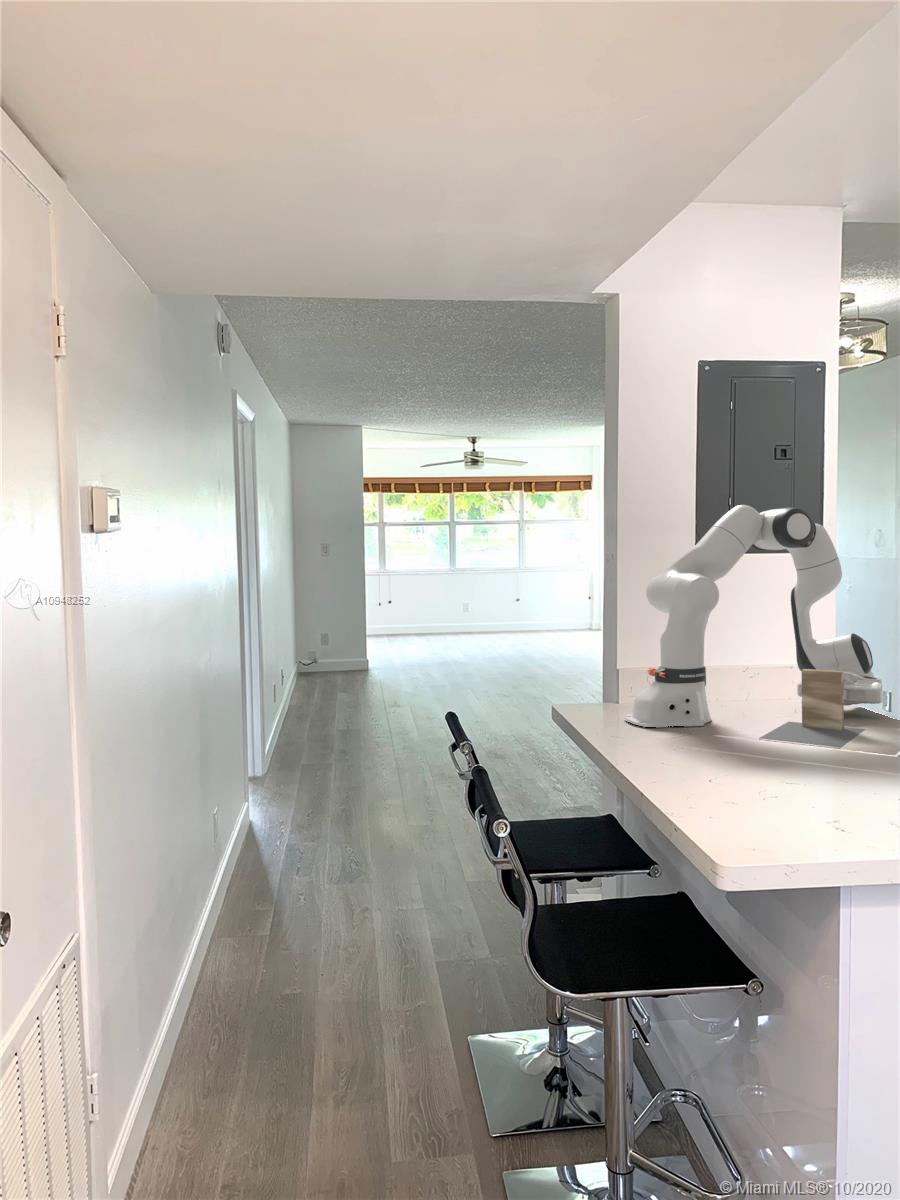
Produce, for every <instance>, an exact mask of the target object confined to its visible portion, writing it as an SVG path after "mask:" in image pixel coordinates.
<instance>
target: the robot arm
mask: <svg viewBox="0 0 900 1200" xmlns="http://www.w3.org/2000/svg"><path fill="white" fill-rule="evenodd" d="M750 548H753V549H756V550H760V551H770V550H771V551H780V550H787V552H788V553H789V555H791V557H792V561H793V565H794V568H795V570H796V571H795V572H796V578H797V579H796V584H795V586H794V587H793V588H792V589H791V592H790V609H791V616H792V624H793V632H794V638H795V654H796V657H795V658H796V663H797V667H798V670H800V671H801V673H802V670H803V669H815V670H832V671H843V686H844V706H853V705H861V704H872V705H873V704H874V705H875V704H882V703H883V684H882V683H883V681H882V679H881V678H878V677H874V673H873V671H872V668H873V667H874V666H873V665H874V660H873V654H872V651H871V647H870V646H869V644H868V642H867V641H866V640H865V639H864V638H863V637H861V636H860V635H858V634H856V633H847V634H842V635H837V636H833V637H828V638H822V639H814V637H813V631H812V624H811V617H810V616H811V615H810V610H811V607H812V606H813V605H814V604H816V603H817V602H818V601H819V600H821V599H823V598H824V597H826V596H827V595H829V594H830V593H832V592H834V590H835V589H836V588H837V587H838V586H839V584H840V583H841V581H842V577H843V571H842V570H843V569H842V565H841V562H840V559H839V556H838V553H837V550H836V547H835V546H834V542H833V541H832V539H831V536H830V534H829V533H828V532H827V530H826V528H825V527H824V526H823V525H821V524H820V523H818V522H817V523H816V522H814V521H813V519H812V518H811V516H810V514H808V513H807V512H806V511H805V510H803V509H801V508H799V507H794V506H793V507H790V506H789V507H785V508H772V509H768V510H763V511H760V512H759V511H757V510H756V509H755V508H754V507H753V506H750V505H747V504H740V505H739V504H738V505H736V506H734V507H732V508H731V509H730V510H728V511H727V512H726V513H725V514H723V515H722V516H721V517H720V518H719V519H718V520H716V522H715V523H714V524H713V525H712V526H711V527H710V529H709V530H708V531H707V532H706V533H705V534H704V535H703V536H702V537H701V539H700V540H699V541H698V542H696V544H695V545H694V546H693V547H692V548H691V549H690V550H689V551H687V553H686V554H684V555H683V556H682V557H680V558H678V560H676V561H674V563H673V564H671V565H670V566H669V567H668V568H666V570H664V571H663V572H661V573H659V574H657V576H654V577H653V578H652V579H650V581H649V582H648V583H647V587H646V591H645V593H646V598H647V601H648V602H649V604H650V605H651V606H653V607H654V608H655V609H657V610H658V611H660V612H663V613H667V614H668V620H667V622H666V623H667V624H666V628H665V629H664V632H662V634H661V636H660V641H659V642H660V665H659V667H658V668H657V669H656V668H654V667H649V668H648V669H647V671H646V672H647V675H649V676H652V677H654V681H653V682H652V683H650V684H649V685H648V686H647V687H646V688H644V689H643V690H642V691H641V692H639V693H638V694H637V695H636V696H635V697H634V700H633V704H632V713H628V714H625V715H624V716H623V718H625V719H626V720H627V721H629V722H631V723H633V724H636V725H639V726H644V727H643V728H645V727H656V728H674V727H673V726H684V727H702V726H705V724H707V723H709V722H711V721H712V717H711V713H710V710H709V707H708V702H707V701H708V700H707V693H706V692H707V691H706V685H707V669H706V668H707V667H706V666H705V637H706V636H705V635H706V629H707V624H708V621H709V618H710V615H711V613H712V611H713V610H714V609H715V608H716V606H717V605H718V602H719V599H720V591H719V590H720V589H719V587H718V585H717V584H716V581H718V580H720V579H721V578H723V577H725V576H726V575H727V574H728V573H729V572H730V571H731V570H732V568H734V566H735V565H736V564H737V563H738V562H739V560H740V559H742V557H743V556H744V554H745V553H747V552H748V550H750ZM796 687H797V688H796V693H797V696H798V697H800V698H802V681H800V682H798V683H797V685H796ZM639 726H638V727H639ZM668 726H669V727H668ZM670 726H672V727H670Z"/></svg>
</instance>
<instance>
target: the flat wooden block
mask: <svg viewBox="0 0 900 1200" xmlns="http://www.w3.org/2000/svg"><path fill="white" fill-rule="evenodd" d="M801 682H802V697H801V723H802V726H803V727H813V728H823V729H833V730H842V729H844V727H845V726H844V725H845V719H844V718H845V717H844V714H845V711H844V709H845V708H844V706H845V705H844V686H843V671H832V670H815V669H803V670H802V672H801Z"/></svg>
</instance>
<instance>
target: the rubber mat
mask: <svg viewBox="0 0 900 1200" xmlns="http://www.w3.org/2000/svg"><path fill="white" fill-rule="evenodd" d="M865 730H866V728H858V727H850V726H844V729H842V730H833V729H823V728H813V727H803V726H802V722H800V721H799V722H797V721H787V722H785V723H783V724H781V725H779V726H778V727H776V728H775V729H773V730H771V731H769V732H767V733H765V734H764V735H762V736H760V737H759V738H758V740H759V741H762V740H765V741H768V742H771V741H773V742H775V743H779V742H782V743H784V744H785V743H786V744H788V743H791V744H793V745H797V744H800V745H802V746H806V745H808V746H810V747H811V746H812V747H814V746H817V747H818V748H819V747H820V748H823V747H826V748H827V749H828V748H829V749H832V748H835V749H837V750H841V748H842V747H844V746H846V745H847V744H848V743H849V742H850V741H852V740H853V739H855V738H856V737H857V736H859V735H860V734H861V733H863V732H864V731H865Z"/></svg>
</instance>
